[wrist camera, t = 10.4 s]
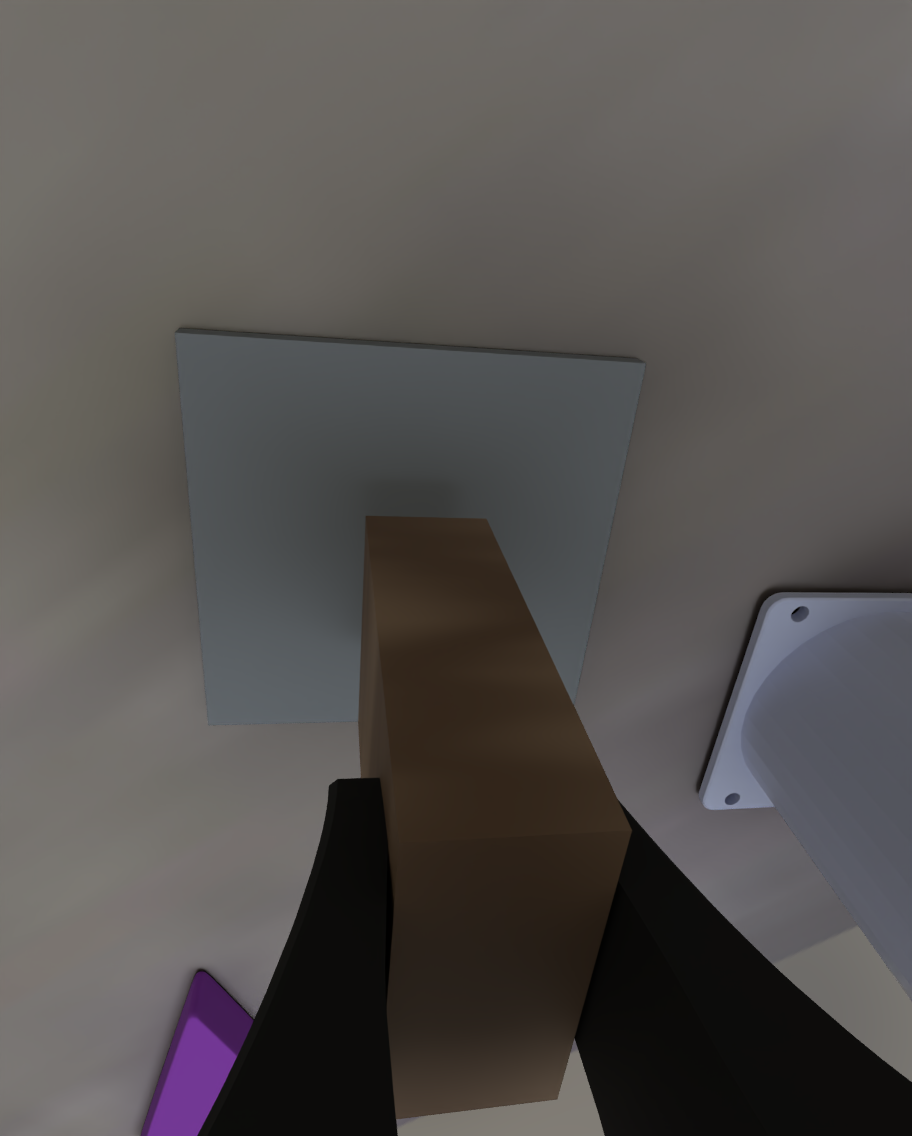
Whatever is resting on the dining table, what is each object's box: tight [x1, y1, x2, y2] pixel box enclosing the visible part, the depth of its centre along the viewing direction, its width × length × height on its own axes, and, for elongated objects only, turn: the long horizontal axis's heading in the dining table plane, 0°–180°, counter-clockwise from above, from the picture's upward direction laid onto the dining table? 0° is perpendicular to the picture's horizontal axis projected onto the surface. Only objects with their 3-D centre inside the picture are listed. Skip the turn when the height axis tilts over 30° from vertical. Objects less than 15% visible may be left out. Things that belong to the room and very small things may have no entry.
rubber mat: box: [175, 328, 646, 725], centre depth 18 cm, size 10×10×1 cm
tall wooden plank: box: [358, 516, 632, 1119], centre depth 12 cm, size 2×5×8 cm, turn 175°
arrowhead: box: [141, 971, 254, 1136], centre depth 26 cm, size 10×2×10 cm
